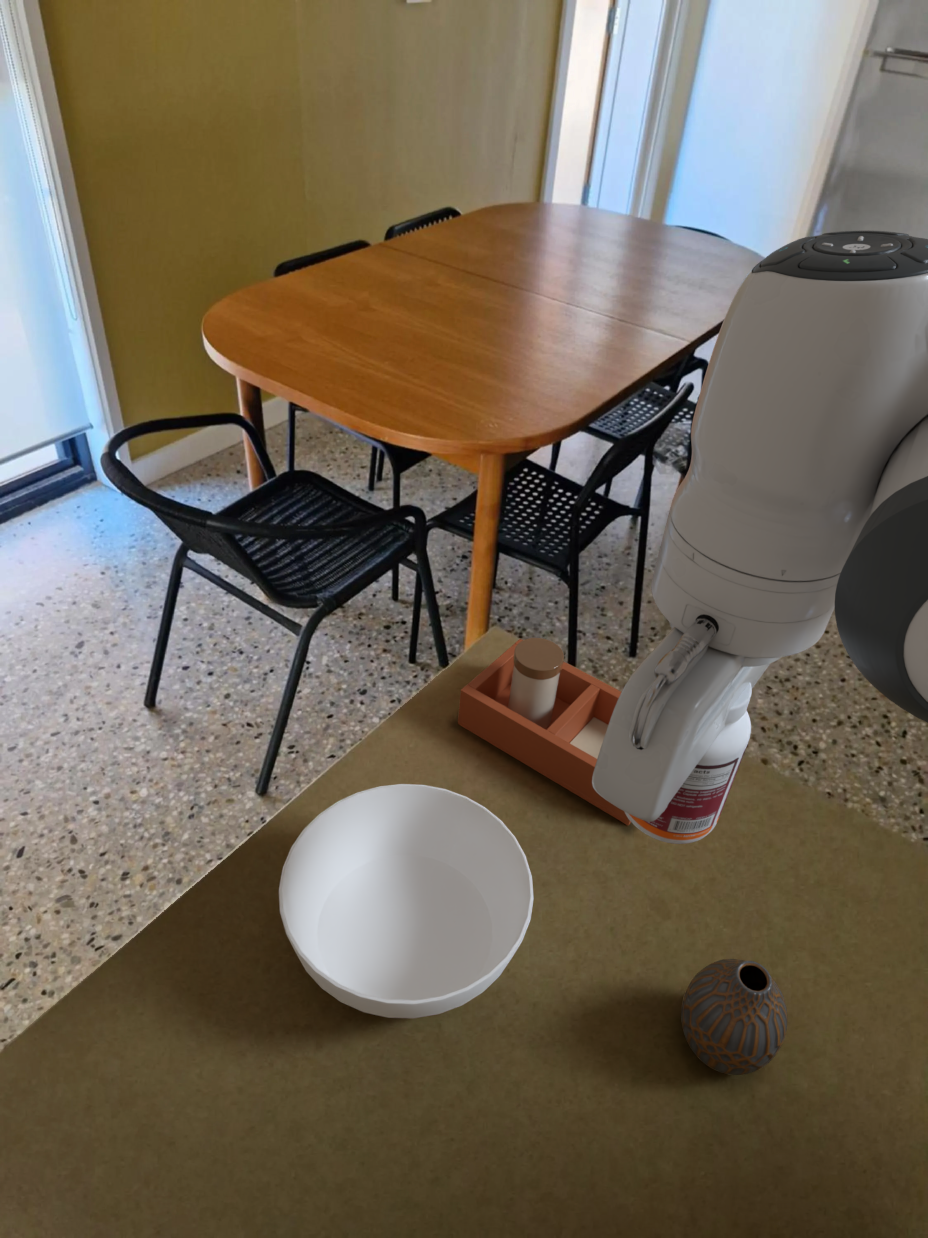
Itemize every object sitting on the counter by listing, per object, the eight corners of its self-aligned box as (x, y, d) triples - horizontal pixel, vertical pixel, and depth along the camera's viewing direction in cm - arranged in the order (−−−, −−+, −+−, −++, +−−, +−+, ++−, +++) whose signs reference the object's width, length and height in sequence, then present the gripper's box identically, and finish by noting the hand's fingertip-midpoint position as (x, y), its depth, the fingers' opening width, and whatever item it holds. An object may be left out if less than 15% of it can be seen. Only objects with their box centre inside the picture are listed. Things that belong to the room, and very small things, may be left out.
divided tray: (515, 671, 93) (520, 638, 90) (678, 761, 85) (689, 727, 82) (457, 724, 86) (460, 689, 84) (628, 826, 78) (638, 792, 75)
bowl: (233, 978, 65) (223, 923, 60) (368, 807, 78) (368, 751, 73) (453, 1107, 59) (460, 1057, 54) (559, 899, 72) (572, 844, 67)
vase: (780, 1026, 65) (818, 962, 59) (753, 1110, 60) (792, 1050, 55) (690, 978, 67) (719, 912, 62) (658, 1055, 63) (686, 992, 57)
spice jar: (549, 700, 89) (561, 638, 84) (554, 733, 85) (566, 671, 80) (504, 699, 89) (512, 636, 84) (507, 732, 85) (516, 669, 80)
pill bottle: (649, 754, 59) (687, 627, 52) (734, 805, 56) (786, 678, 49) (598, 809, 55) (632, 679, 48) (686, 867, 52) (735, 738, 45)
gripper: (719, 720, 36) (650, 912, 45) (868, 518, 49) (792, 696, 58) (586, 652, 39) (545, 845, 48) (761, 478, 52) (704, 654, 61)
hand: (682, 762), depth 53 cm, fingers closed on pill bottle, 6 cm apart
